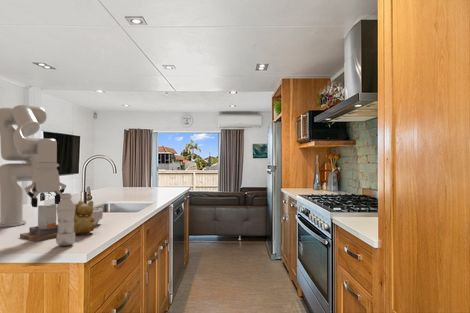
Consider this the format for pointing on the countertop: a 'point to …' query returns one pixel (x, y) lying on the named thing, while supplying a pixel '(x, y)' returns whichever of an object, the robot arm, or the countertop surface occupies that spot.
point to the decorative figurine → (83, 218)
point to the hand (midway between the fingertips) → (46, 205)
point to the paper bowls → (97, 214)
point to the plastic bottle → (65, 220)
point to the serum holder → (40, 233)
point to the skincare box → (46, 216)
